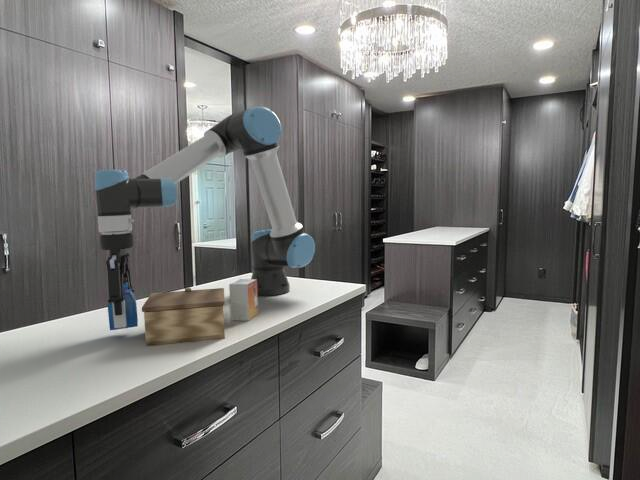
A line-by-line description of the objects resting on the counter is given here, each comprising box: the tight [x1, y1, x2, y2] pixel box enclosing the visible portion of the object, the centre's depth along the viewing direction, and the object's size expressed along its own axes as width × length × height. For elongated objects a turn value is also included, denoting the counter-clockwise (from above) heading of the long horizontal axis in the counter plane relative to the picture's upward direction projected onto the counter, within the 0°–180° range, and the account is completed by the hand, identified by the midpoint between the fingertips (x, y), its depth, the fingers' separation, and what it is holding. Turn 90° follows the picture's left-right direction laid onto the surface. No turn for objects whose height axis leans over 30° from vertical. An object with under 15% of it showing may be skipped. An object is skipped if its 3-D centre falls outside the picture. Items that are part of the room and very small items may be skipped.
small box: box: [228, 278, 259, 322], centre depth 120 cm, size 8×6×10 cm
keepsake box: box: [143, 305, 226, 347], centre depth 106 cm, size 18×14×8 cm
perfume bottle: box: [107, 277, 139, 331], centre depth 105 cm, size 6×6×12 cm
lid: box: [141, 287, 226, 313], centre depth 105 cm, size 19×14×2 cm
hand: (124, 322), depth 105 cm, fingers closed on perfume bottle, 7 cm apart
